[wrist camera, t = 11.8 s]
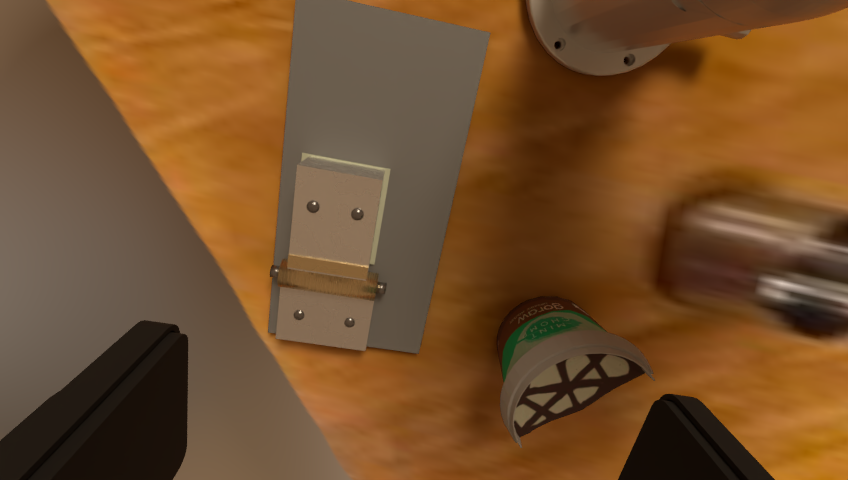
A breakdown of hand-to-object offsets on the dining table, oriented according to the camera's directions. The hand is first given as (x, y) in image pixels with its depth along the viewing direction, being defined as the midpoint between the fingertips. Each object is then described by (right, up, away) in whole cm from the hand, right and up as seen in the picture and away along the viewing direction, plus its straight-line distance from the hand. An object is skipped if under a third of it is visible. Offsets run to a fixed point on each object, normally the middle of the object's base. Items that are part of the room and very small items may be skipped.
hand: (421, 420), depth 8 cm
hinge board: (-5, +7, +27) cm, 29 cm away
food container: (+10, -4, +32) cm, 34 cm away
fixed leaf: (-8, -2, +29) cm, 31 cm away
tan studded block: (-7, +6, +26) cm, 28 cm away
